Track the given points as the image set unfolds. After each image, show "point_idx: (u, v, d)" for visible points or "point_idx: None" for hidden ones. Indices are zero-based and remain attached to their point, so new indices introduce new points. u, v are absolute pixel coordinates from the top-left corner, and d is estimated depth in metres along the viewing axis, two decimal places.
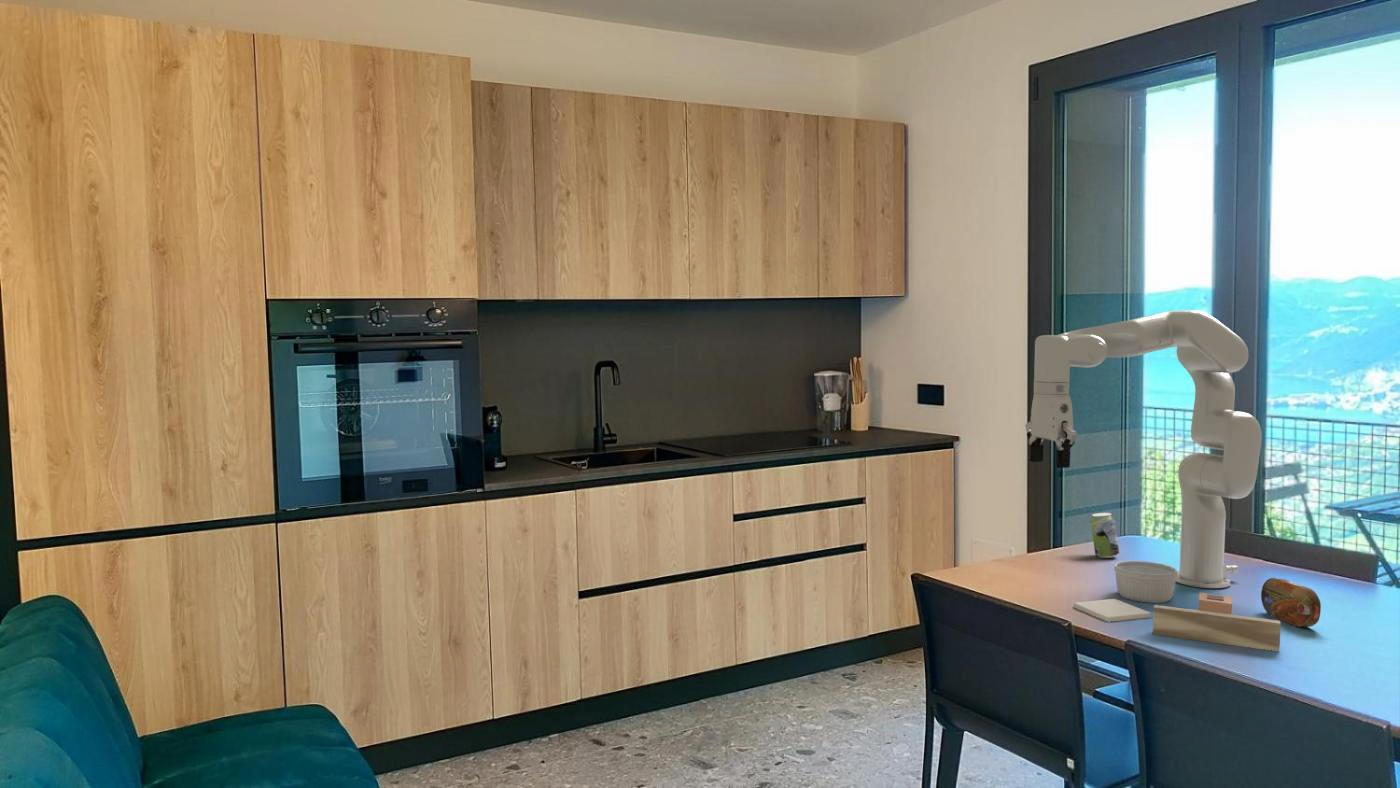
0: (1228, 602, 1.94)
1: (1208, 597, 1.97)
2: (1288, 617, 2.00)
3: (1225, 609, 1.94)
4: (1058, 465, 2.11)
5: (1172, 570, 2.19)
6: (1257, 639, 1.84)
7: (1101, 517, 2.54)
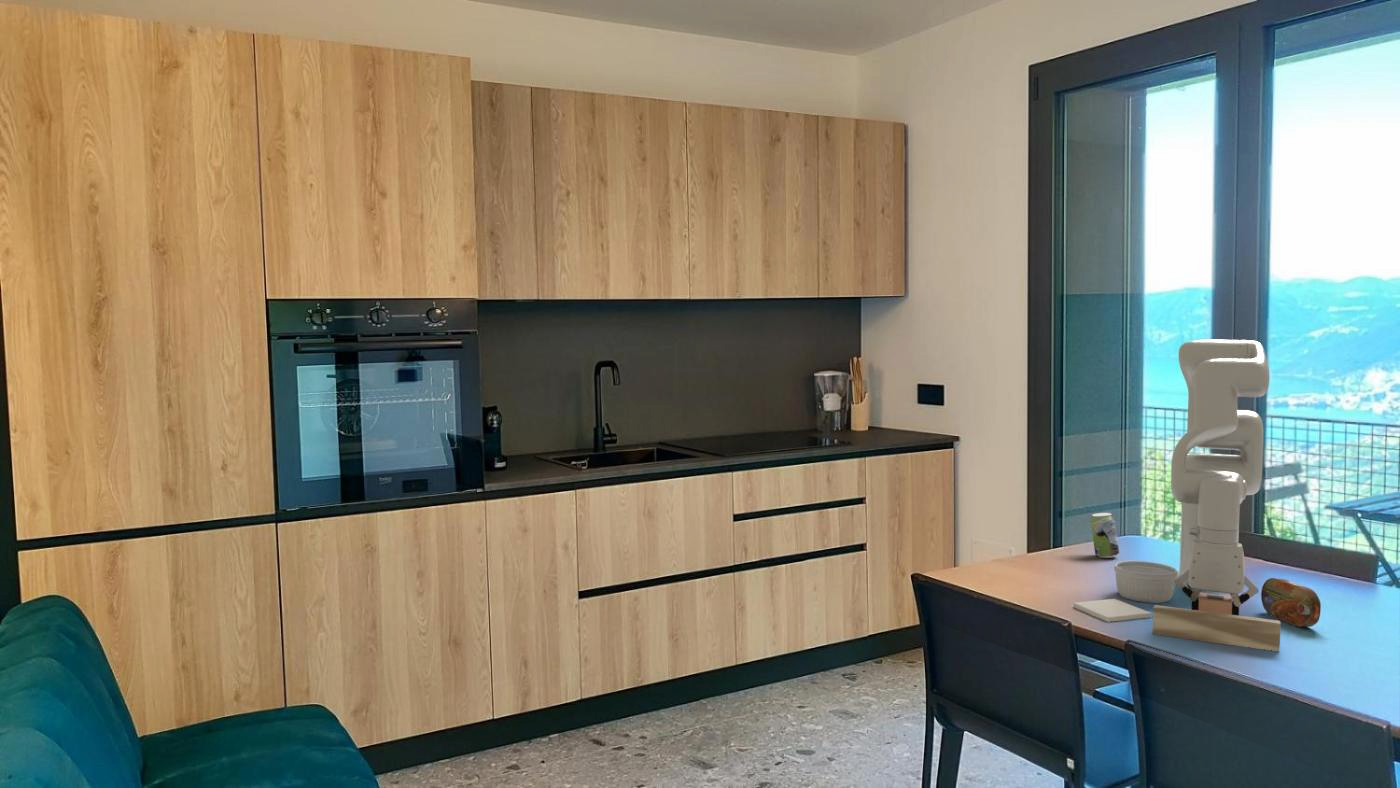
0: (1228, 602, 1.94)
1: (1208, 597, 1.97)
2: (1288, 617, 2.00)
3: (1225, 609, 1.94)
4: None
5: (1172, 570, 2.19)
6: (1257, 639, 1.84)
7: (1101, 517, 2.54)
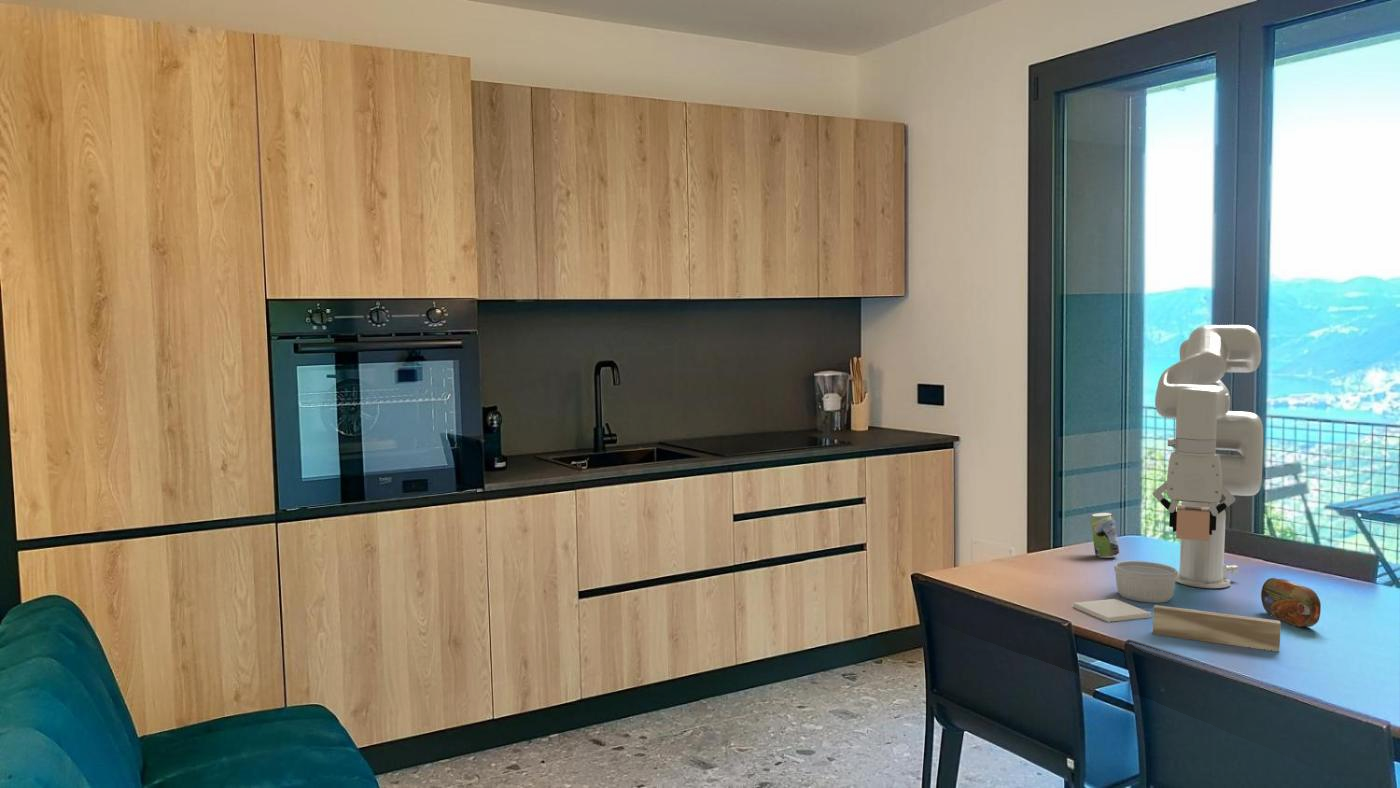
0: (1206, 511, 1.95)
1: (1186, 508, 1.98)
2: (1288, 617, 2.00)
3: (1202, 518, 1.95)
4: None
5: (1172, 570, 2.19)
6: (1257, 639, 1.84)
7: (1101, 517, 2.54)
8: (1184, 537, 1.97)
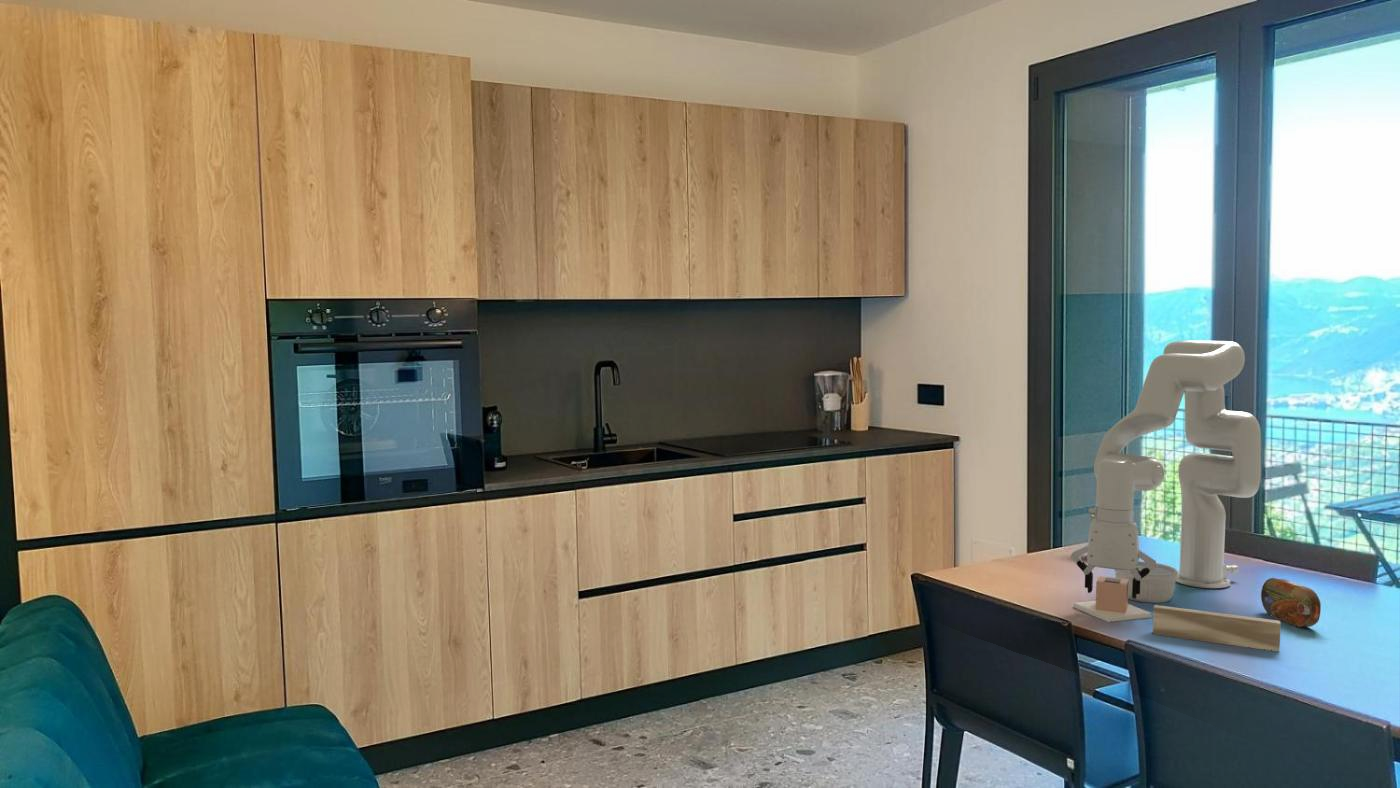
0: (1123, 584, 2.04)
1: (1106, 580, 2.07)
2: (1288, 617, 2.00)
3: (1120, 591, 2.03)
4: None
5: (1172, 570, 2.19)
6: (1257, 639, 1.84)
7: None
8: (1103, 608, 2.05)
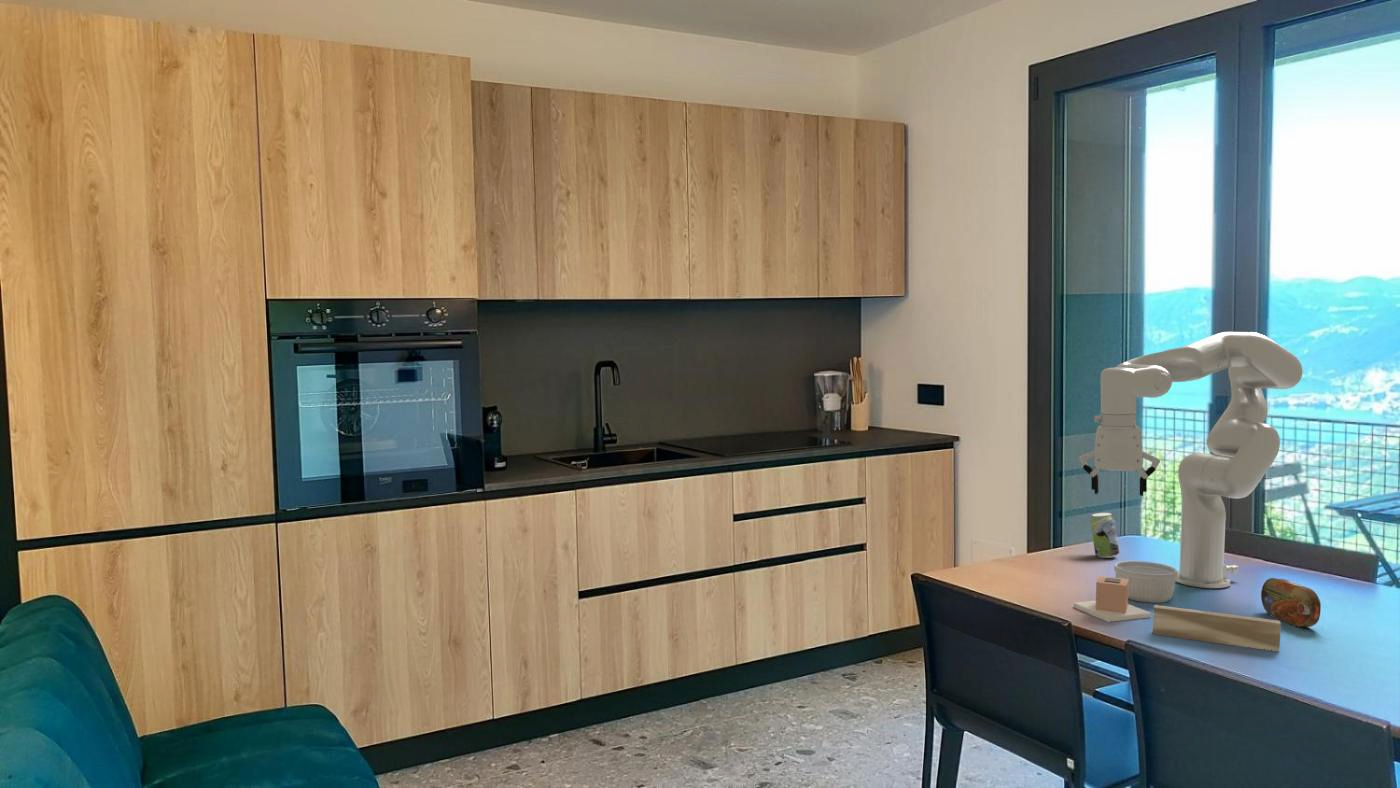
0: (1123, 584, 2.04)
1: (1106, 580, 2.07)
2: (1288, 617, 2.00)
3: (1120, 591, 2.03)
4: None
5: (1172, 570, 2.19)
6: (1257, 639, 1.84)
7: (1101, 517, 2.54)
8: (1103, 608, 2.05)
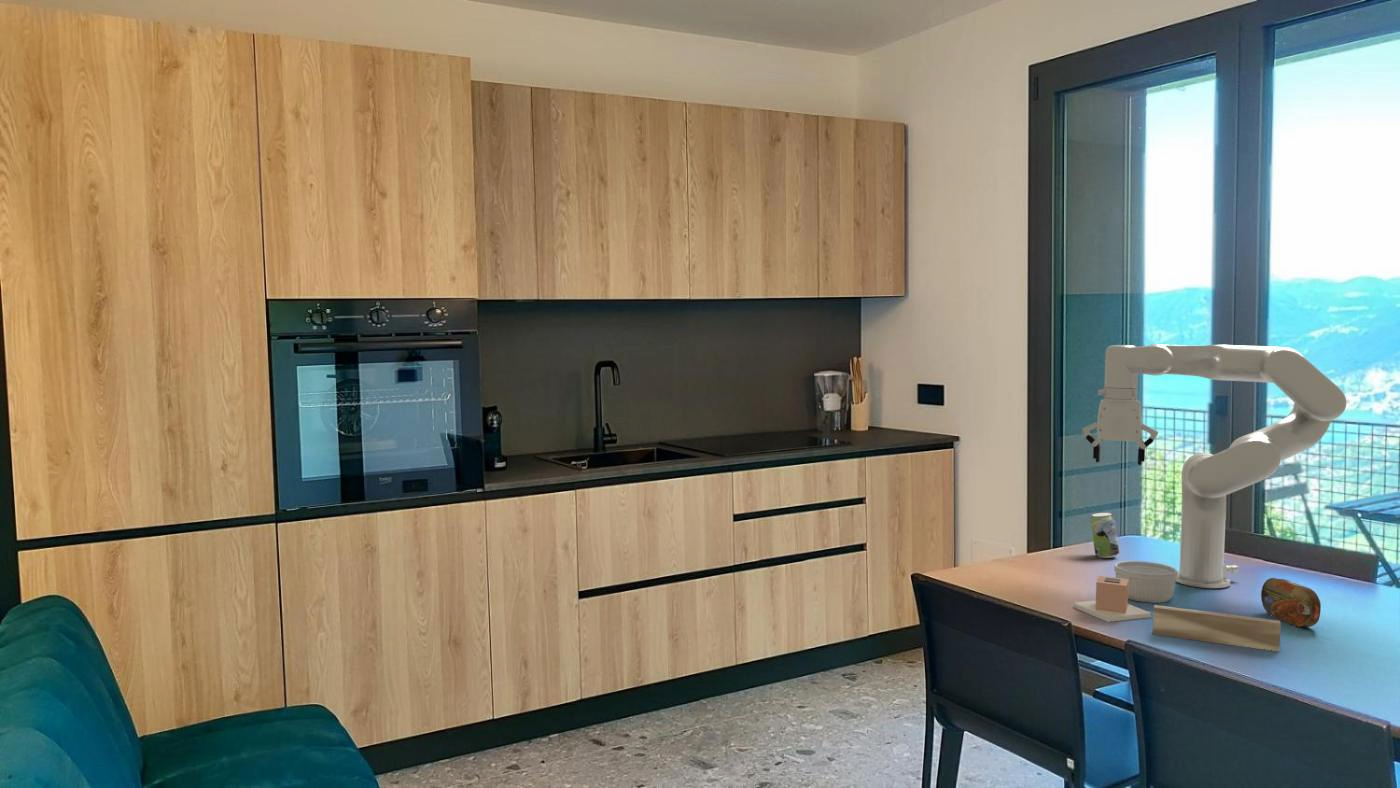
0: (1123, 584, 2.04)
1: (1106, 580, 2.07)
2: (1288, 617, 2.00)
3: (1120, 591, 2.03)
4: None
5: (1172, 570, 2.19)
6: (1257, 639, 1.84)
7: (1101, 517, 2.54)
8: (1103, 608, 2.05)
